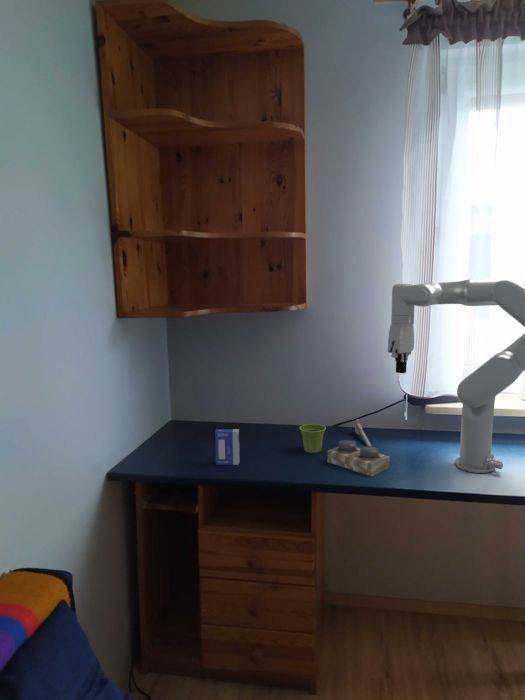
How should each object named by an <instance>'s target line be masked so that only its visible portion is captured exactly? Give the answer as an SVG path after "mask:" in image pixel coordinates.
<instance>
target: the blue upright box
mask: <svg viewBox="0 0 525 700" xmlns="http://www.w3.org/2000/svg"><path fill="white" fill-rule="evenodd" d="M214 434H215V435H214V436H215V437H214V438H215V466H238V465H239V464H240V429H239V428H238V429H237V428H234V429H233V428H232V429H230V428H228V429H227V428H225V429H220V428H219V429H215V431H214Z"/></svg>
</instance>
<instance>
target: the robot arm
mask: <svg viewBox="0 0 525 700" xmlns="http://www.w3.org/2000/svg"><path fill="white" fill-rule="evenodd" d="M391 290H392V291H391V292H392V293H391V315H390V316H391V319H390V320H391V321H390V323H391V324H390V326H389V331H388V339H387V352H388V353H390V354H391V357H392V358H394V361H395V373H398V374H406V373H407V363H408V360H409V359H408V358H409V356H411V354H412V352H413V350H414V349H415V327H414V324H415V307H416V306H417V307H422V308H423V307H429V306H435V305H463V306H466V307H479V306H480V307H484V306H498V307H500V309H502V310H504V312H506V313H507V314H508V315H509V316H511V317H512V318H513V319H514V320H515V321H516V322H518V323H519V324H520V325H521V326H523V327H524V328H525V283H524V282H523V280H522V279H520V278H518V277H514V276H507V277H504V276H503V277H490V278H488V277H487V278H476V279H475V278H472V279H471V278H470V279H463V280H460V281H449V282H448V281H446V282H444V281H443V282H427V283H418V284H412V283H396V284H394V285H393V286H392V289H391ZM524 372H525V332H524V333H523V334H522V335H521V336H519V337H518V338H517V339H516V340H515V341H513V342H512V343H511V344H510V345H508V346H507V347H506V348H504V349H503V350H501V351H500V352H498V353H496V354H494V355H493V356H492V357H490V358H489V359H488V360H486V361H485V362H484V363H483V364H481V365H480V366H479V367H478V368H476V370H474V371H473V372H471V373H470V374H468V375H467V376H466V377H464V378H463V380H462V381H460V383H458V387H457V390H456V395H457V398H458V400H459V402H460V404H462V408H461V421H460V422H461V423H460V424H461V425H460V438H459V439H460V440H459V441H460V442H459V443H460V444H459V457H456V458H455V459H454V463H453V464H454V466H455V467H456V468H457V469H459V470H462V471H465V472H469V473H474V474H475V473H476V474H488V473H489V474H490V473H492V472H494V471H495V470H496V469H498V470H502V469H503V467H504V464H503V461H501V460H496V459H495V455H494V454H492V442H493V426H494V425H493V423H494V412H495V411H494V410H495V405H496V404H495V402H496V401H495V400H496V396H498V395H499V394H500V393H502V392H503V391H505V390H506V389H507V388H508V387H510V386H511V385H512V384H514V382H516V380H518V379H519V377H520V376H521V375H522V373H524Z"/></svg>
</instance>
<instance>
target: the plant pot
mask: <svg viewBox="0 0 525 700" xmlns="http://www.w3.org/2000/svg"><path fill="white" fill-rule="evenodd" d="M299 430H300V432H301V437H302V442H303V450H304V452H307V453H309V454H318V452H319V453H320V452H321V451H322V446H323V439H324V434H325V432H326V430H327V427H326V426H325V425H323V424H319V423H318V424H317V423H306V424H302V425H300V426H299Z"/></svg>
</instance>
